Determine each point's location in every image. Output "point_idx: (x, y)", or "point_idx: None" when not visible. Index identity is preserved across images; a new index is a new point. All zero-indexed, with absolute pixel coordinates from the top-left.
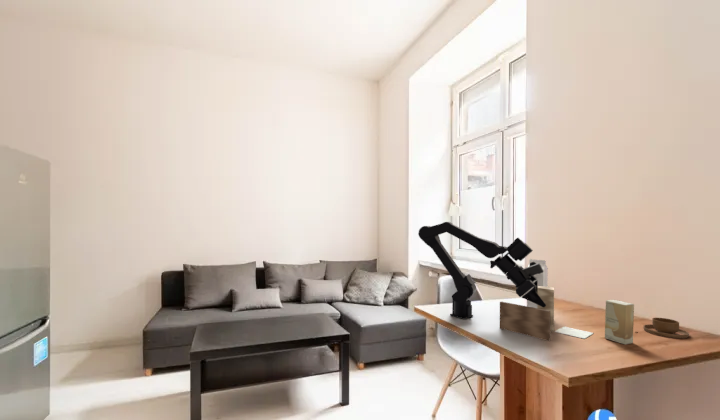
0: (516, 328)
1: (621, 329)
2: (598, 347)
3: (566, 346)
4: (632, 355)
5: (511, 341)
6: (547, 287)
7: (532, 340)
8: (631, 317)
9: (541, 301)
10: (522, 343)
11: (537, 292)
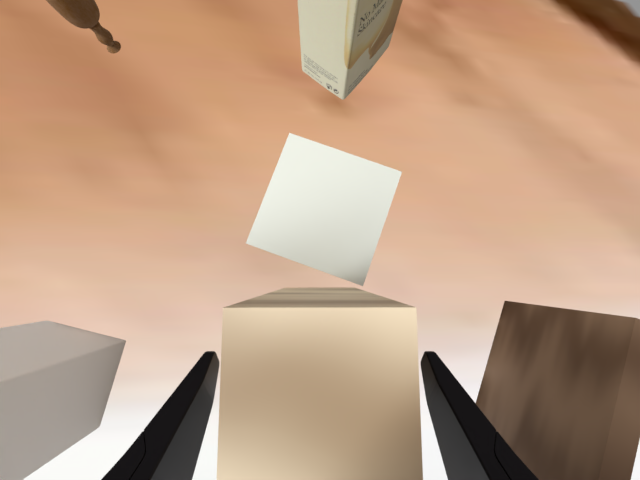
0: None
1: (395, 6)
2: (487, 134)
3: (552, 241)
4: (512, 42)
5: None
6: (272, 389)
7: None
8: None
9: (466, 398)
10: None
11: (174, 463)
